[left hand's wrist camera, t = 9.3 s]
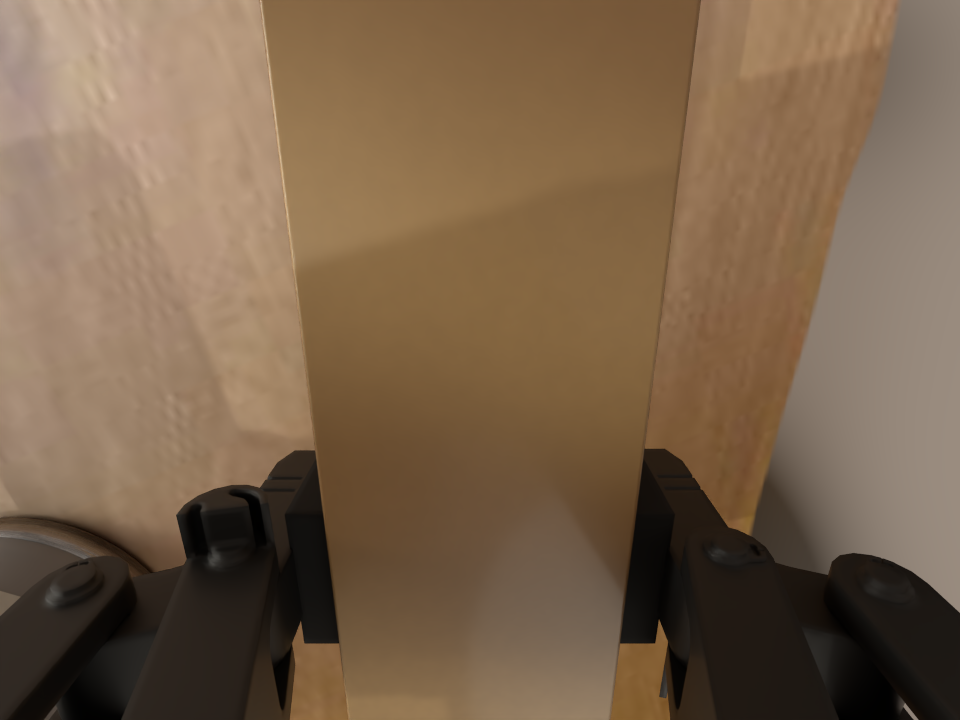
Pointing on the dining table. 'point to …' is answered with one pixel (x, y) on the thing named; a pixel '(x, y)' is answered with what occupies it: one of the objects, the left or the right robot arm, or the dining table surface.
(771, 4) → the dining table surface
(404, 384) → the bar
